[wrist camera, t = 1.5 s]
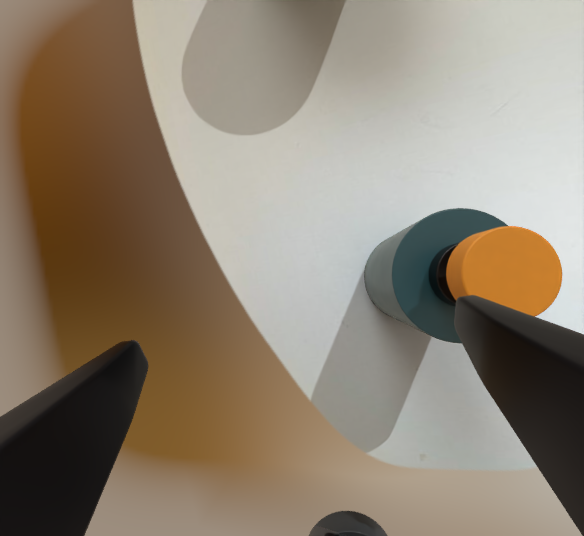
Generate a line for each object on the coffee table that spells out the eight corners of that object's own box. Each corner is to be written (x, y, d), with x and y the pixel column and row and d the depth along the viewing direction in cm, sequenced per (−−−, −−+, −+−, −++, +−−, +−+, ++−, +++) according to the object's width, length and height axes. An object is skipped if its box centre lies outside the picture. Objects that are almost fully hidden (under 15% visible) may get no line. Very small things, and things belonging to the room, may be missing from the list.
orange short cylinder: (523, 327, 13) (550, 333, 11) (436, 304, 13) (451, 307, 12) (544, 243, 13) (573, 238, 12) (456, 222, 13) (474, 215, 12)
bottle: (441, 330, 24) (529, 366, 14) (355, 307, 25) (381, 326, 15) (462, 245, 24) (565, 221, 14) (376, 225, 25) (416, 188, 15)
